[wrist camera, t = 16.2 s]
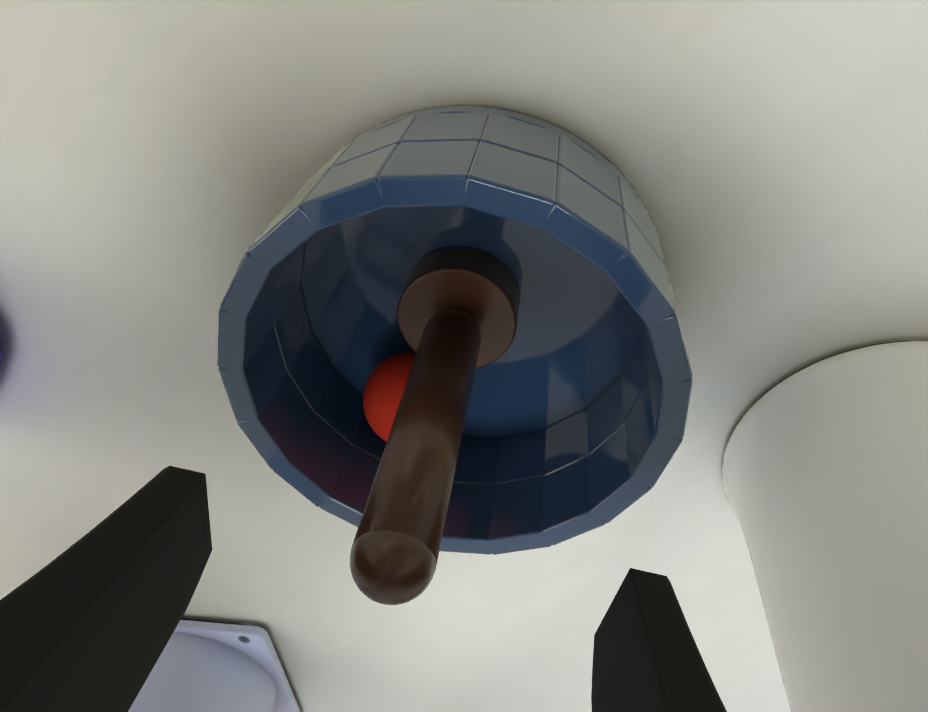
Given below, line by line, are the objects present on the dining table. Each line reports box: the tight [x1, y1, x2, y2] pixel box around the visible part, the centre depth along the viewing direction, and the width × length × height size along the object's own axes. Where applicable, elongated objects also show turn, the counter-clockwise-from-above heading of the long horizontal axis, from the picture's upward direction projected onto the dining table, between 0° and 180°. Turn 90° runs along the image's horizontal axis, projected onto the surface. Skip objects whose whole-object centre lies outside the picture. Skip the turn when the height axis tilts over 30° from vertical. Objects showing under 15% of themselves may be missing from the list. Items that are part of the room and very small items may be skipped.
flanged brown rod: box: [350, 247, 520, 605], centre depth 14 cm, size 3×3×9 cm
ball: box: [363, 352, 416, 442], centre depth 18 cm, size 3×3×3 cm
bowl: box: [218, 105, 693, 555], centre depth 16 cm, size 10×10×4 cm
